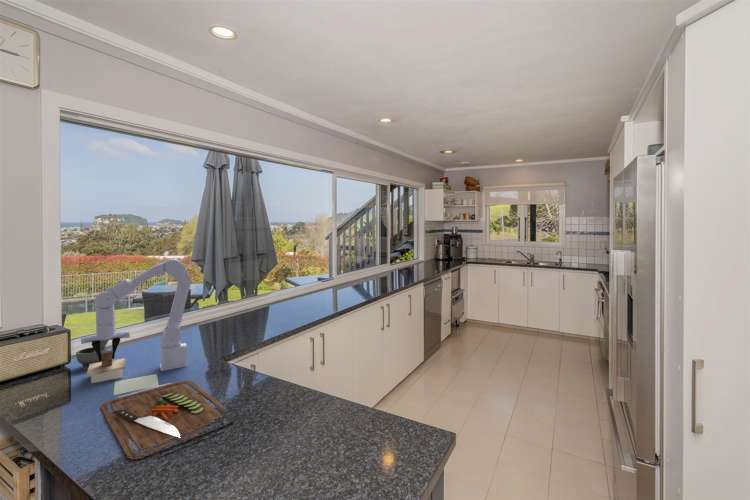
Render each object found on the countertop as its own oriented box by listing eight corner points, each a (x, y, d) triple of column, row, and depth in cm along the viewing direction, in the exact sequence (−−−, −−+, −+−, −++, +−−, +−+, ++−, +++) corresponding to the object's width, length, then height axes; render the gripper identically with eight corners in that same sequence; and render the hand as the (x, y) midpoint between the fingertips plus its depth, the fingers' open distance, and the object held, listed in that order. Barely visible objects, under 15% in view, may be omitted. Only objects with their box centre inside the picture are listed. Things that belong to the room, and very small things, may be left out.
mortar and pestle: (77, 373, 138) (76, 342, 138) (75, 366, 145) (75, 337, 145) (112, 366, 146) (112, 337, 145) (110, 360, 153) (109, 332, 152)
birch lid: (125, 360, 142) (124, 345, 141) (124, 368, 133) (124, 353, 132) (89, 365, 135) (89, 350, 135) (86, 375, 126) (86, 359, 126)
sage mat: (156, 374, 137) (156, 373, 137) (158, 386, 126) (158, 385, 126) (114, 382, 130) (114, 381, 130) (113, 396, 119) (113, 395, 119)
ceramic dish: (122, 371, 141) (122, 361, 141) (121, 378, 133) (121, 368, 133) (93, 376, 136) (93, 365, 135) (91, 384, 128) (90, 373, 128)
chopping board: (243, 425, 102) (243, 415, 102) (133, 470, 83) (132, 457, 82) (187, 380, 133) (187, 372, 133) (97, 405, 114) (97, 395, 114)
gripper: (79, 328, 126) (80, 366, 127) (129, 323, 134) (130, 358, 135) (81, 324, 132) (83, 360, 133) (129, 319, 140) (130, 353, 141)
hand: (106, 359), depth 134 cm, fingers open, 3 cm apart
